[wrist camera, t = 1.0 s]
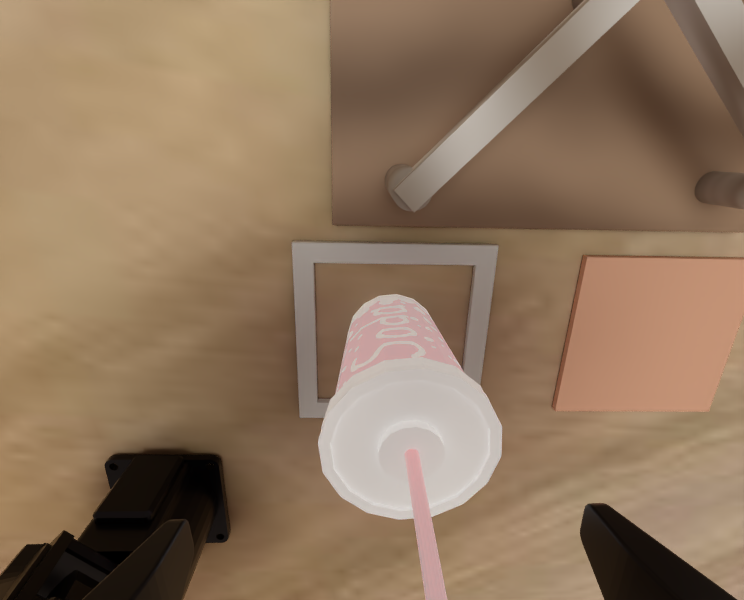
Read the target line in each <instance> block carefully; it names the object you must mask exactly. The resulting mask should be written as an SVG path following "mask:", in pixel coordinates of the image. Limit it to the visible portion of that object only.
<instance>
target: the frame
mask: <svg viewBox="0 0 744 600" xmlns="http://www.w3.org/2000/svg"><path fill="white" fill-rule="evenodd" d="M498 247H499V246H498V245H497V244H471V243H411V242H352V241H292V258H293V280H294V303H295V325H296V347H297V369H298V391H299V414H300V418H324V417H325V414H326V411H327V408H328V405H329V402H330V399H318V386H317V348H316V310H315V272H314V263H356V264H423V265H474V267H473V275H472V284H471V293H470V302H469V311H468V320H467V329H466V338H465V347H464V356H463V365H462V370H463V371H464V373H465V374H466V375H467V376H469V377H470V378H471V379H473V380H474V381H475V382H476V383H478V384H479V385H480V384H481V376H482V369H483V361H484V353H485V346H486V338H487V330H488V323H489V315H490V308H491V300H492V292H493V285H494V277H495V269H496V262H497V254H498Z"/></svg>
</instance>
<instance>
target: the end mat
mask: <svg viewBox="0 0 744 600" xmlns="http://www.w3.org/2000/svg"><path fill="white" fill-rule="evenodd" d="M743 315H744V258H730V257H667V256H604V255H583V259H582V264H581V269H580V273H579V278H578V283H577V288H576V293H575V298H574V303H573V308H572V312H571V317H570V322H569V327H568V332H567V337H566V342H565V347H564V351H563V356H562V361H561V366H560V371H559V376H558V381H557V386H556V390H555V395H554V400H553V405H552V407H553V409H554V410H555V411H709V409H710V407H711V404H712V401H713V398H714V395H715V393H716V390H717V387H718V384H719V382H720V379H721V376H722V373H723V371H724V368H725V365H726V362H727V360H728V357H729V354H730V351H731V348H732V346H733V343H734V340H735V337H736V335H737V332H738V329H739V326H740V324H741V321H742V318H743Z"/></svg>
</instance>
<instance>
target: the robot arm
mask: <svg viewBox="0 0 744 600" xmlns="http://www.w3.org/2000/svg"><path fill="white" fill-rule="evenodd" d="M209 463H212V464H214V465H210V464H209ZM115 464H116V465H115ZM105 469H106V473H107V477H108V481H109V485H110V489H111V490H110V491H109V493H108V494H107V495H106V497H105V498H104V500H103V501H102V502H101V504H100V505H99V506H98V508H97V509H96V511H95V512H94V514H93V519H92V520H91V522H90V523H89V525H88V526H87V527H86V529H85V530H84V532H83V533H82V534H81V536H80V537H79V538H78V540H75V539H74V535H72V534H70V533H68V532H67V531H65V530H63V531H62V532H61V533H60V534H59V535H58V536H57V537H56V538H55V539H54V540H53V541H52V542H51V543H50V544H48V543H47V544H46V543H44V544H27V545H26V546H25V547H24V548H23V549H22V550H21V551H20V552H19V553H18V554H17V555H16V557H15V558H14V559H13V560H12V561H11V563H10V564H9V565H8V566H7V567H6V569H5V570H4V571H3V572H2V573H1V575H0V600H183V599H184V596H185V593H186V591H187V588H188V586H189V583H190V581H191V578H192V576H193V573H194V570H195V568H196V565H197V563H198V560H199V558H200V555H201V553H202V550H203V547H204V545H205V543H222V542H225V541H227V540H228V538H229V535H230V525H229V518H228V510H227V502H226V494H225V487H224V479H223V471H222V463H221V460H220V458H219V457H217V456H215V455H113V456H111V457H110V458H109V459H108V460H107V462H106V463H105ZM580 536H581V540H582V543H583V546H584V549H585V551H586V554H587V556H588V559H589V561H590V564H591V566H592V569H593V572H594V574H595V577H596V579H597V582H598V584H599V587H600V590H601V592H602V595H603V597H604V600H737V599H736V598H734V597H733V596H732V595H730V594H729V593H728V592H726V591H725V590H723V589H722V588H721V587H719V586H718V585H717V584H715V583H714V582H712V581H711V580H710V579H708V578H707V577H706V576H704V575H703V574H702V573H700V572H699V571H697V570H696V569H695V568H693V567H692V566H691V565H689V564H688V563H687V562H685V561H684V560H682V559H681V558H680V557H678V556H677V555H676V554H674V553H673V552H672V551H670V550H669V549H667V548H666V547H665V546H663V545H662V544H661V543H659V542H658V541H656V540H655V539H654V538H652V537H651V536H650V535H648V534H647V533H646V532H644V531H643V530H641V529H640V528H639V527H637V526H636V525H635V524H633V523H632V522H631V521H629V520H628V519H626V518H625V517H624V516H622V515H621V514H620V513H618V512H617V511H616V510H614V509H613V508H611V507H610V506H609V505H607V504H604V503H592V504H587V505H586V506H585V509H584V514H583V519H582V523H581V528H580Z"/></svg>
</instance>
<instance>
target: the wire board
mask: <svg viewBox="0 0 744 600" xmlns="http://www.w3.org/2000/svg"><path fill="white" fill-rule="evenodd" d="M330 34H331V131H332V225H357V226H413V227H468V228H524V229H579V230H635V231H690V232H744V0H330Z"/></svg>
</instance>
